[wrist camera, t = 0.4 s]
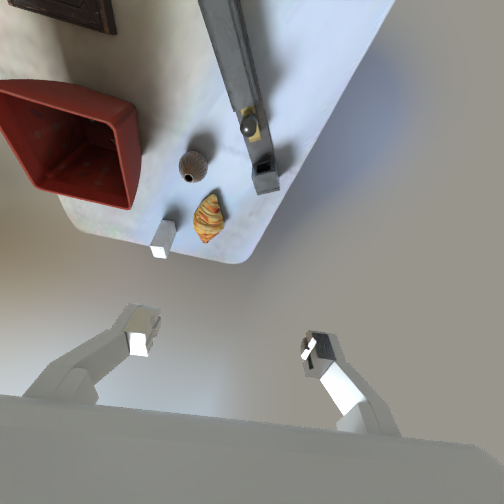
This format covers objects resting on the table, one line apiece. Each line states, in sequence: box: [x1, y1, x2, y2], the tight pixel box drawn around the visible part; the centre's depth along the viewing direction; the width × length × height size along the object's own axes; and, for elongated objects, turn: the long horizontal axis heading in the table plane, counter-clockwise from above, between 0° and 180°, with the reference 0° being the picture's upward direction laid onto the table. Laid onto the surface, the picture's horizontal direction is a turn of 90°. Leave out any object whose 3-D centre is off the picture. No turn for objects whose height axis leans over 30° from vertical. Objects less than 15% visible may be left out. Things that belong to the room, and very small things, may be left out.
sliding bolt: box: [240, 105, 261, 142], centre depth 38 cm, size 22×3×7 cm, turn 17°
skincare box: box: [150, 220, 176, 258], centre depth 71 cm, size 6×4×12 cm
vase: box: [179, 151, 208, 183], centre depth 52 cm, size 7×7×9 cm
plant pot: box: [0, 79, 142, 210], centre depth 44 cm, size 19×19×17 cm
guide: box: [198, 0, 280, 195], centre depth 43 cm, size 36×6×6 cm, turn 17°
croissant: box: [193, 194, 224, 243], centre depth 69 cm, size 21×10×8 cm, turn 165°
